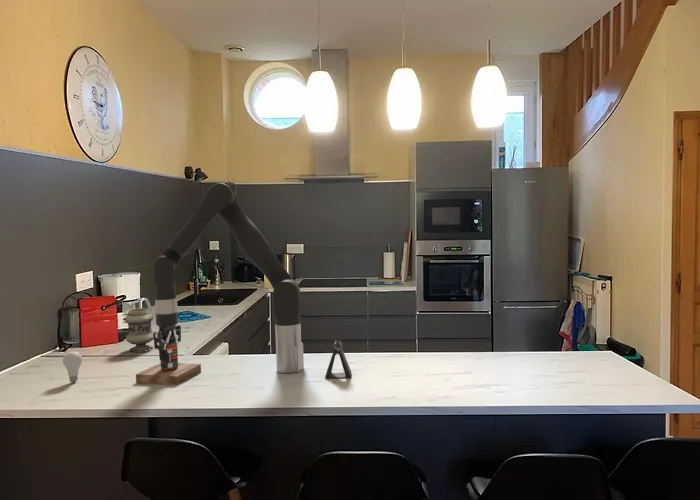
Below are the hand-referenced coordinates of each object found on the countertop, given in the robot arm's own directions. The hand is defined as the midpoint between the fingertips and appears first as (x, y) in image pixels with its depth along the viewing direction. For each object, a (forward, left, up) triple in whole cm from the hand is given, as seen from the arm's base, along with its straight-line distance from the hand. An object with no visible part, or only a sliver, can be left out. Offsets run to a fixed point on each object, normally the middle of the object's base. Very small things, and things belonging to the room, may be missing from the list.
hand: (168, 357), depth 195 cm
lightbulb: (+31, +11, -7) cm, 34 cm away
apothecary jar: (+38, -38, -7) cm, 54 cm away
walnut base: (0, 0, -7) cm, 7 cm away
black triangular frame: (-60, -10, -7) cm, 61 cm away
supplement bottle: (0, 0, -4) cm, 4 cm away
